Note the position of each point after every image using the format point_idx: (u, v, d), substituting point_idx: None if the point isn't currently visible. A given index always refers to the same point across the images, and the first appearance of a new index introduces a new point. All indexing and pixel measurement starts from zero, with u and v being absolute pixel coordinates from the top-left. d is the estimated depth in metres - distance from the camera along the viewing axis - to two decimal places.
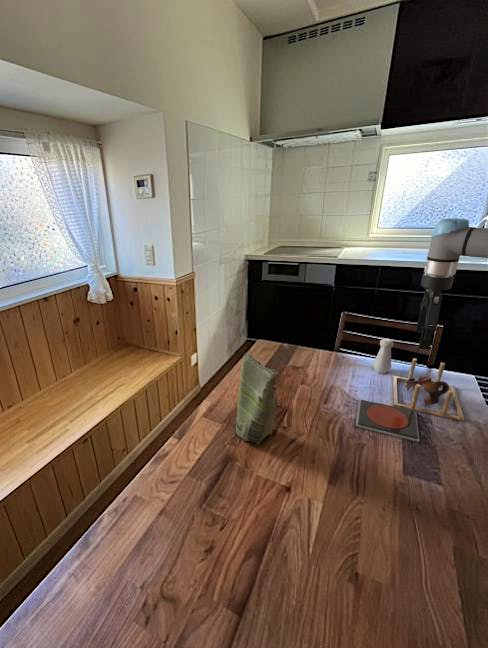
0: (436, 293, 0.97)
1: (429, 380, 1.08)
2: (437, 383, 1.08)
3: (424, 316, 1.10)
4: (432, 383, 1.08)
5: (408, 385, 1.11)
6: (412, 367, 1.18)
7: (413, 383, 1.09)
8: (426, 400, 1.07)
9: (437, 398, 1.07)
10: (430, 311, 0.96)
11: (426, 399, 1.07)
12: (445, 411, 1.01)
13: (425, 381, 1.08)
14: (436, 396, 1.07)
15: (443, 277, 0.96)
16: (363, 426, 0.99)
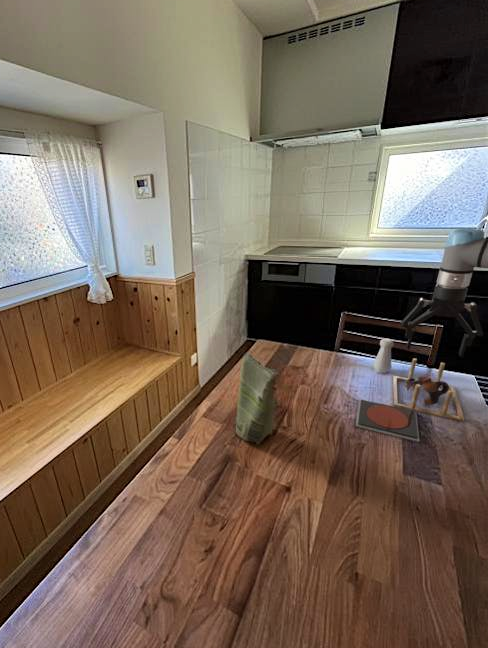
0: None
1: (429, 380, 1.08)
2: (437, 383, 1.08)
3: None
4: (432, 383, 1.08)
5: (408, 385, 1.11)
6: (412, 367, 1.18)
7: (413, 383, 1.09)
8: (426, 400, 1.07)
9: (437, 398, 1.07)
10: None
11: (426, 399, 1.07)
12: (445, 411, 1.01)
13: (425, 381, 1.08)
14: (436, 396, 1.07)
15: None
16: (363, 426, 0.99)
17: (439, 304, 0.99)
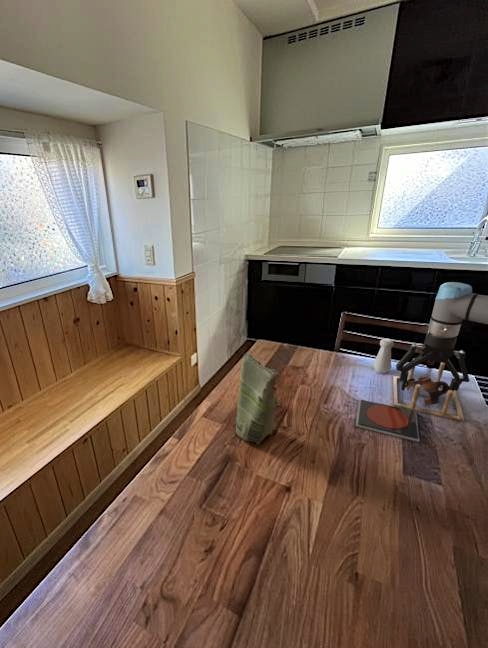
0: None
1: (429, 380, 1.08)
2: (437, 383, 1.08)
3: None
4: (432, 383, 1.08)
5: (408, 385, 1.11)
6: None
7: (413, 383, 1.09)
8: (426, 400, 1.07)
9: (437, 398, 1.07)
10: (465, 366, 1.02)
11: (426, 399, 1.07)
12: (445, 411, 1.01)
13: (425, 381, 1.08)
14: (436, 396, 1.07)
15: None
16: (363, 426, 0.99)
17: (430, 350, 1.04)
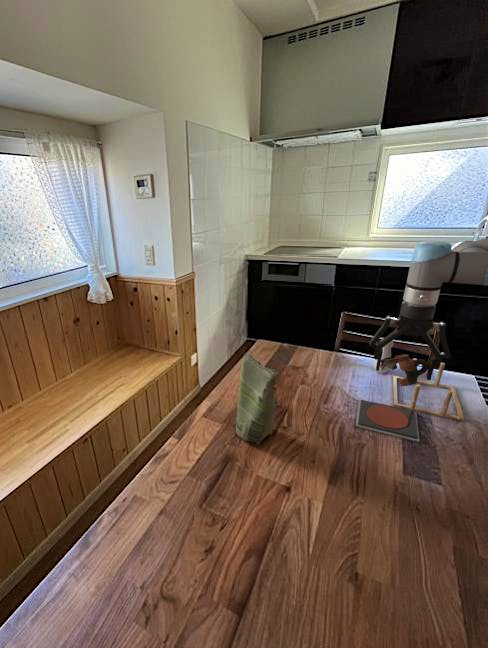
0: (431, 321, 0.89)
1: (406, 358, 0.95)
2: (415, 361, 0.95)
3: None
4: (409, 361, 0.94)
5: (383, 364, 0.98)
6: None
7: (388, 361, 0.96)
8: (402, 381, 0.93)
9: (415, 378, 0.94)
10: (446, 340, 0.88)
11: (402, 379, 0.93)
12: (445, 411, 1.01)
13: (401, 359, 0.94)
14: (414, 376, 0.93)
15: None
16: (363, 426, 0.99)
17: (406, 322, 0.91)
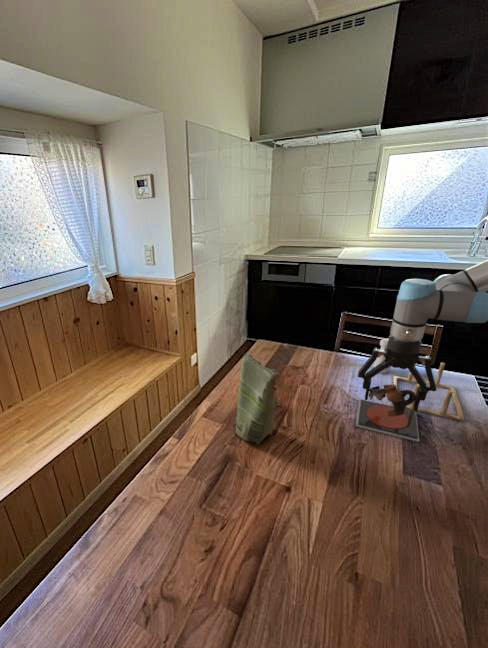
0: (417, 355, 0.91)
1: (393, 388, 0.97)
2: (403, 392, 0.97)
3: (370, 382, 1.00)
4: (397, 392, 0.96)
5: (371, 394, 1.00)
6: None
7: (376, 392, 0.98)
8: (389, 411, 0.96)
9: (403, 408, 0.96)
10: None
11: (390, 410, 0.96)
12: (445, 411, 1.01)
13: (389, 390, 0.97)
14: (401, 406, 0.96)
15: None
16: (363, 426, 0.99)
17: (393, 355, 0.93)
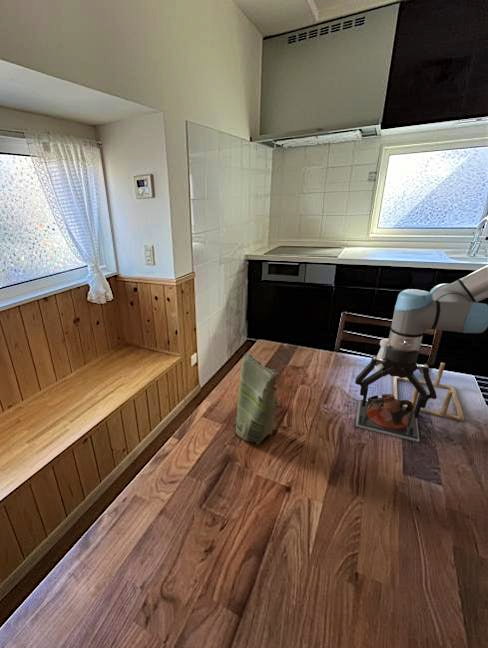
0: (415, 364, 0.92)
1: (391, 398, 0.98)
2: (400, 402, 0.99)
3: (367, 389, 1.01)
4: (395, 402, 0.98)
5: (369, 403, 1.01)
6: None
7: (374, 402, 0.99)
8: (387, 421, 0.97)
9: (400, 418, 0.97)
10: (430, 381, 0.91)
11: (388, 420, 0.97)
12: (445, 411, 1.01)
13: (387, 400, 0.98)
14: (399, 416, 0.97)
15: None
16: (363, 426, 0.99)
17: (391, 364, 0.94)
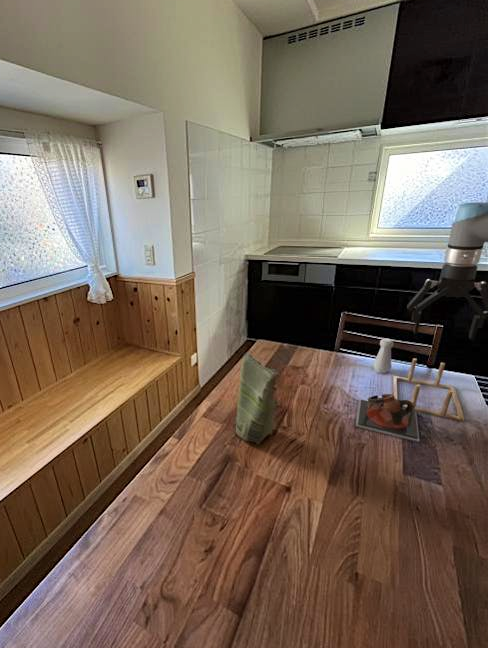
0: None
1: (391, 398, 0.98)
2: (400, 402, 0.99)
3: None
4: (395, 402, 0.98)
5: (369, 403, 1.01)
6: (412, 367, 1.18)
7: (374, 402, 0.99)
8: (387, 421, 0.97)
9: (400, 418, 0.97)
10: None
11: (388, 420, 0.97)
12: (445, 411, 1.01)
13: (387, 400, 0.98)
14: (399, 416, 0.97)
15: None
16: (363, 426, 0.99)
17: (447, 284, 0.93)
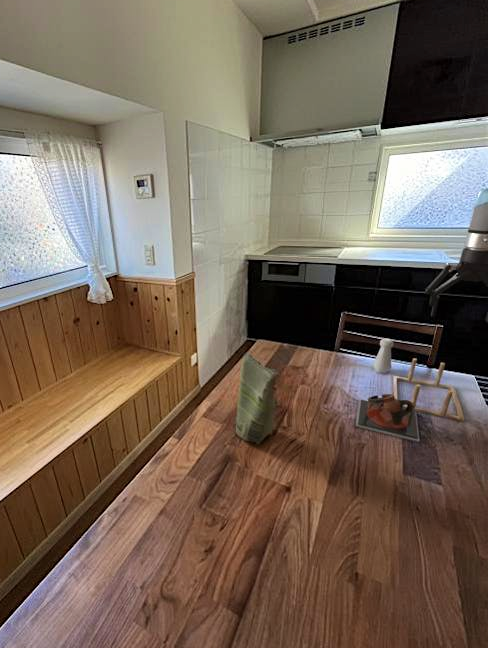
0: None
1: (391, 398, 0.98)
2: (400, 402, 0.99)
3: None
4: (395, 402, 0.98)
5: (369, 403, 1.01)
6: (412, 367, 1.18)
7: (374, 402, 0.99)
8: (387, 421, 0.97)
9: (400, 418, 0.97)
10: None
11: (388, 420, 0.97)
12: (445, 411, 1.01)
13: (387, 400, 0.98)
14: (399, 416, 0.97)
15: None
16: (363, 426, 0.99)
17: (467, 268, 0.96)
